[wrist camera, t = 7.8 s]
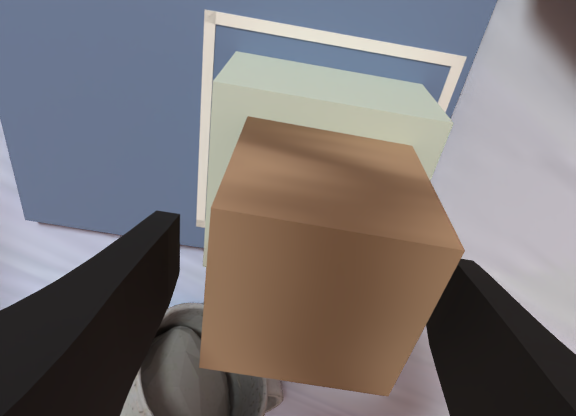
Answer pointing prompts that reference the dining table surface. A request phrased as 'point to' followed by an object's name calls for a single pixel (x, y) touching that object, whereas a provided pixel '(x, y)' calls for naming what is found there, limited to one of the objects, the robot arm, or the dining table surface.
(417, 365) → the dining table surface
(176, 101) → the board
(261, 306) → the walnut block
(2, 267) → the dining table surface
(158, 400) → the ceramic mug
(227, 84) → the sage base block
